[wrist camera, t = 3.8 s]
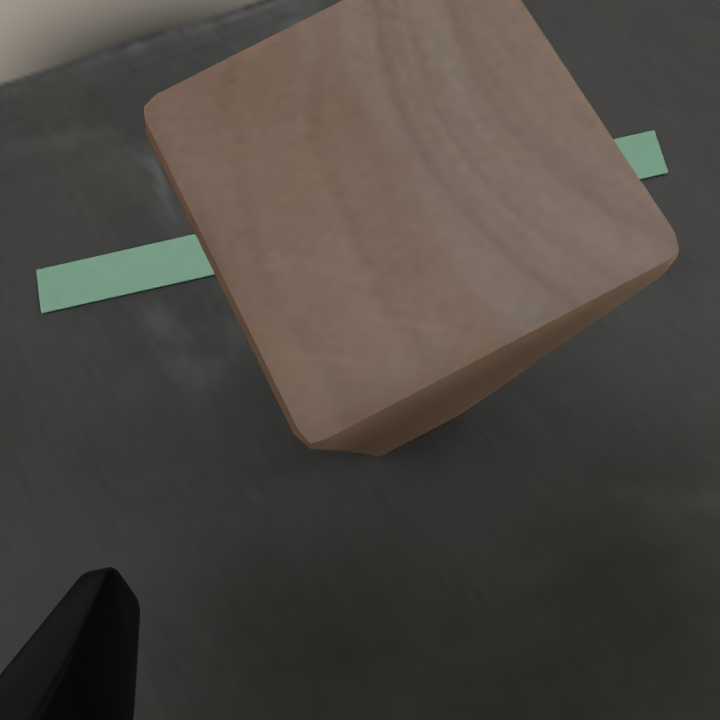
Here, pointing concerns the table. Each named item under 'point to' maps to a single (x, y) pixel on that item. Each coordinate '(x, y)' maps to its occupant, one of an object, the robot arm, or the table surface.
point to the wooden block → (404, 209)
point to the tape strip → (190, 262)
